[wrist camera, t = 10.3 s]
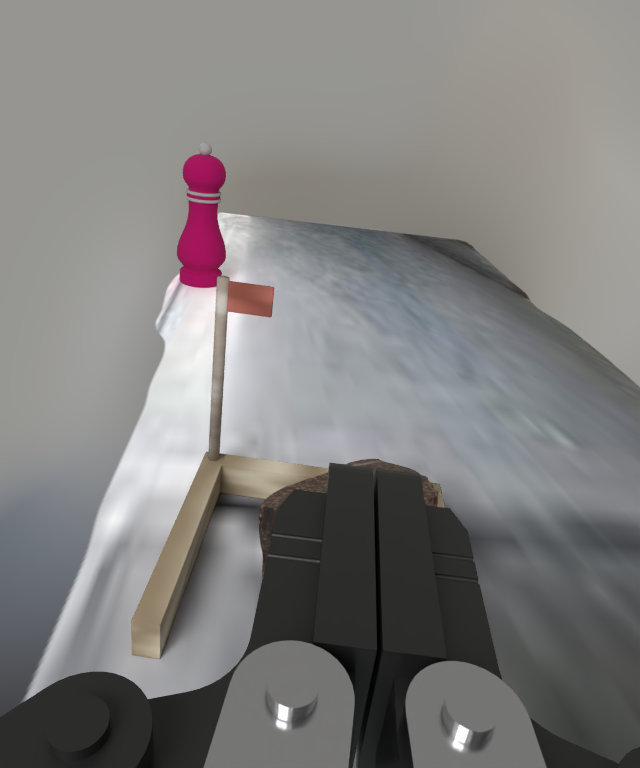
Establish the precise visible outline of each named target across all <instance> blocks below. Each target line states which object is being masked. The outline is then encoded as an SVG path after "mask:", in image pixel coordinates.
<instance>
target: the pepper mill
mask: <svg viewBox="0 0 640 768" xmlns="http://www.w3.org/2000/svg"><path fill="white" fill-rule="evenodd" d="M199 152H200V154H198V155H194V156H192V157H190V158H189V159H188V160H187V161H186V162H185V164H184V168H183V178H184V180H185V182H186V183H187V185H188V186H189V188H188V189H187V190H186V192H187V196H186V199H187V200H189V213H188V219H187V223H186V226H185V228H184V230H183V233H182V235H181V237H180V239H179V243H178V247H177V256H178V259H179V260H180V262H181V263H182V264H183V265H184V266H183V267H182V268H181V269H180V281H181V282H182V283H184V284H186V285H189V286H193V287H214V286H217V277H218V276H221V275H222V272H221V271H220V270H219V269H218V268H219V267H220V266H221V265H222V264H223V262H224V261H225V258H226V250H225V245H224V241H223V238H222V235H221V232H220V229H219V225H218V220H217V209H218V203H220V202H221V199H220V196H221V193H220V192H219V189H220V188H221V187H222V186H223V184H224V182H225V177H226V172H225V168H224V166H223V164H222V162H221V161H220V160H218V159H217V158H216V157H213V156H211V155H210V154H211V152H212V148H211V146H210V145H209V144H208V143H202V144H201V145H200V146H199Z"/></svg>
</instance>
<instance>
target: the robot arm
mask: <svg viewBox="0 0 640 768" xmlns="http://www.w3.org/2000/svg"><path fill="white" fill-rule="evenodd" d="M356 748H357V763H356V768H640V747H639V748H636V749H633V750H632V751H630V752H629V753H627V754H626V755H625V757H624V758H623V759H622V760H621V762H620V764H618V763H616V762H613V761H611V760H609V759H607V758H604V757H602V756H600V755H597V754H595V753H593V752H591V751H588V750H586V749H584V748H582V747H579V746H577V745H575V744H572V743H570V742H568V741H566V740H564V739H562V738H560V737H558V736H556V735H554V734H552V733H550V732H549V731H547V730H546V729H544V728H543V727H541V726H540V725H539V724H537V723H536V722H535V721H534V720H532V719H531V718H530V717H529V715H528V713H527V710H526V708H525V707H524V705H523V703H522V702H521V700H520V699H519V697H518V696H517V695H516V694H515V692H514V691H513V690H512V689H511V688H510V687H509V686H508V685H507V684H506V683H505V682H504V681H503V680H502V678H501V675H500V672H499V668H498V664H497V659H496V655H495V650H494V646H493V642H492V637H491V633H490V628H489V624H488V620H487V615H486V611H485V607H484V602H483V598H482V593H481V589H480V585H479V584H478V576H477V571H476V567H475V563H474V562H473V554H472V549H471V545H470V541H469V536H468V532H467V530H466V529H465V528H464V526H463V525H462V524H461V523H460V521H459V520H458V519H457V517H456V516H455V515H454V513H453V512H452V511H451V509H450V508H443V507H435V506H427V505H425V500H424V493H423V486H422V479H421V475H420V474H418V473H410V472H402V471H394V470H386V469H378V468H376V469H375V472H374V476H373V468H368V467H360V466H352V465H344V464H336V463H330V464H329V470H328V477H327V485H326V493H320V492H312V491H304V490H296V489H294V490H293V491H292V492H291V494H290V495H289V496H288V497H287V498H286V499H285V500H284V501H283V502H282V503H281V505H280V506H279V507H278V508H277V512H276V517H275V522H274V527H273V531H272V537H271V541H270V546H269V551H268V557H267V560H266V565H265V570H264V575H263V580H262V585H261V590H260V594H259V599H258V604H257V609H256V614H255V619H254V624H253V628H252V633H251V638H250V641H249V645H248V647H247V649H246V651H245V653H244V655H243V657H242V658H241V660H240V661H239V662H238V664H237V665H236V666H235V667H234V668H233V669H232V670H231V671H230V672H229V673H227V674H226V675H225V676H223V677H222V678H221V679H219V680H217V681H216V682H214V683H212V684H210V685H208V686H205V687H203V688H200V689H197V690H193V691H189V692H185V693H179V694H174V695H169V696H163V697H158V698H153V699H147V697H146V696H145V694H144V693H143V692H142V690H141V689H140V688H139V687H138V686H137V685H136V684H135V683H134V682H132V681H130V680H129V679H127V678H125V677H123V676H120V675H117V674H114V673H108V672H87V673H80V674H77V675H73V676H69V677H67V678H64V679H62V680H60V681H57V682H55V683H54V684H52V685H50V686H48V687H47V688H45V689H43V690H42V691H40V692H39V693H37V694H36V695H34V696H33V697H31V698H29V699H28V700H26V701H25V702H23V703H22V704H20V705H19V706H17V707H15V708H14V709H12V710H11V711H9V712H8V713H6V714H5V715H3V716H1V717H0V768H352V767H353V762H354V757H355V752H356Z"/></svg>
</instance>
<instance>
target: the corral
mask: <svg viewBox="0 0 640 768" xmlns="http://www.w3.org/2000/svg"><path fill="white" fill-rule="evenodd" d="M229 279H230V278H229V277H226V276H218V277H217V290H216V311H215V331H214V352H213V373H212V393H211V414H210V434H209V452H206V453H205V456H204V458H203V460H202V462H201V465H200V467H199V469H198V471H197V474H196V476H195V478H194V480H193V483H192V485H191V487H190V489H189V492H188V494H187V496H186V498H185V501H184V503H183V505H182V508H181V510H180V512H179V514H178V517H177V519H176V521H175V523H174V526H173V528H172V530H171V532H170V535H169V537H168V539H167V541H166V544H165V546H164V548H163V551H162V553H161V555H160V557H159V560H158V562H157V564H156V566H155V569H154V571H153V573H152V575H151V578H150V580H149V582H148V584H147V587H146V589H145V591H144V593H143V596H142V598H141V600H140V603H139V605H138V607H137V609H136V612H135V614H134V616H133V618H132V621H131V630H132V655H136V656H143V657H151V658H158V659H160V657H161V654H162V651H163V649H164V646H165V643H166V640H167V638H168V635H169V632H170V629H171V626H172V624H173V621H174V618H175V615H176V613H177V610H178V607H179V604H180V602H181V599H182V596H183V593H184V590H185V588H186V585H187V582H188V579H189V577H190V574H191V571H192V568H193V566H194V563H195V560H196V557H197V554H198V552H199V549H200V546H201V543H202V541H203V538H204V535H205V532H206V530H207V527H208V524H209V521H210V518H211V516H212V513H213V510H214V507H215V505H216V502H217V499H218V496H219V494H220V493H226V494H233V495H241V496H248V497H255V498H262V499H266V498H267V497H269V496H270V495H271V494H273V493H274V492H276V491H278V490H280V489H282V488H284V487H286V486H289V485H293V484H295V483H298V482H301V481H303V480H306V479H309V478H313V477H316V476H318V475H321V474H324V473H327V472H328V470H329V469H328V468H321V467H314V466H306V465H299V464H292V463H285V462H277V461H270V460H263V459H256V458H249V457H241V456H234V455H227V454H220V453H219V452H220V434H221V417H222V400H223V383H224V365H225V348H226V331H227V313H228V312H236V313H243V314H250V315H257V316H265V317H271V316H272V306H273V296H274V287H270V286H263V285H255V284H248V283H241V282H233V281H229ZM431 484H432V485H433V489H435V490H436V491H438V504H437V507H443V508H445V507H444V502H443V497H442V492H441V487H440V484H436V483H431Z"/></svg>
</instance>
